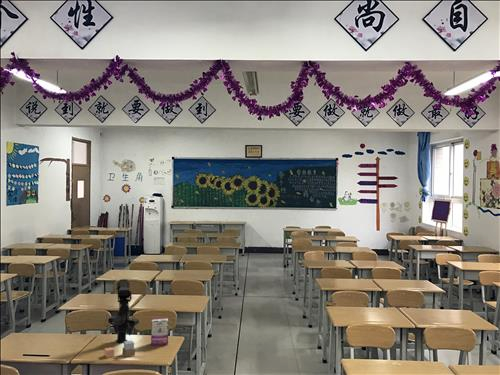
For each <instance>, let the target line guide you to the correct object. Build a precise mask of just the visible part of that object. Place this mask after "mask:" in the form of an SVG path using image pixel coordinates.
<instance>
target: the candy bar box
mask: <svg viewBox="0 0 500 375" xmlns="http://www.w3.org/2000/svg"><path fill="white" fill-rule="evenodd" d="M150 329H151V334H150V335H151V336H150V338H151V340H150V341H151V342H150V346H165V345H166V346H167V345H169V318H155V319H154V318H152V319H151V327H150Z"/></svg>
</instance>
